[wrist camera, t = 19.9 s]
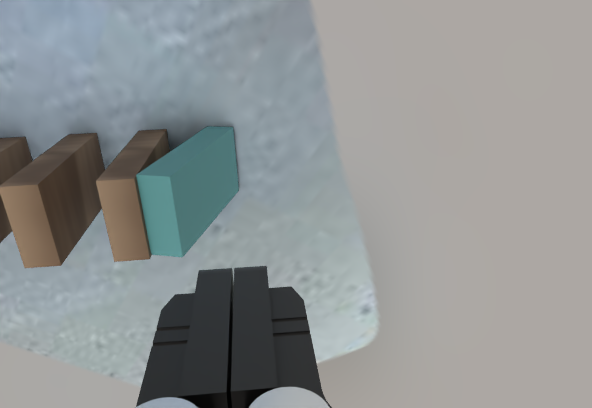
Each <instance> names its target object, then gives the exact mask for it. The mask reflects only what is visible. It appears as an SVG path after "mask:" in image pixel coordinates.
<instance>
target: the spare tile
mask: <svg viewBox="0 0 592 408" xmlns="http://www.w3.org/2000/svg"><path fill="white" fill-rule="evenodd" d="M136 178H137V183H138V188H139V193H140V198H141V204H142V209H143V214H144V219H145V225H146V230H147V235H148V240H149V245H150V251H151V254H152V255H163V256H174V257H183V256H184V255H185V254H186V253H187V252H188V250H189V249H190V248H191V247H192V246H193V244H194V243H195V242H196V241H197V240H198V238H199V237H200V236H201V235H202V234H203V232H204V231H205V230H206V229H207V228H208V227H209V225H210V224H211V223H212V222H213V221H214V219H215V218H216V217H217V216H218V215H219V213H220V212H221V211H222V210H223V209H224V208H225V206H226V205H227V204H228V203H229V202H230V200H231V199H232V198H233V197H234V196H235V194H236V193H237V192H238V191H239V186H238V175H237V164H236V153H235V142H234V131H233V127H212V126H207V127H206V128H204V129H203V130H201V131H200V132H198V133H197V134H195V135H194V136H192V137H191V138H190V139H188V140H187V141H185V142H184V143H182V144H181V145H179V146H178V147H176V148H175V149H173V150H172V151H170V152H169V153H167V154H166V155H165V156H163V157H162V158H160V159H159V160H157V161H156V162H154V163H153V164H151V165H150V166H148V167H147V168H145V169H144V170H142V171H141V172H140V173H138V174H137V175H136Z"/></svg>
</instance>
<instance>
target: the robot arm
mask: <svg viewBox="0 0 592 408" xmlns="http://www.w3.org/2000/svg"><path fill="white" fill-rule="evenodd" d="M136 408H332V407H331V406H330V405H329V404H328V402H327V401H326V399H325V397H324V395H323V392H322V389H321V384H320V379H319V374H318V369H317V364H316V359H315V354H314V349H313V344H312V339H311V334H310V330H309V325H308V320H307V315H306V310H305V305H304V300H303V299H302V298H301V297H300V296H299V295H298V293H297V292H296V291H295V290H294V289H293V288H292V287H279V288H269V287H268V276H267V266H259V267H243V268H235V269H234V282H233V271H232V268H228V269H212V270H199V273H198V278H197V284H196V291H195V293H192V294H177V295H174V296H173V298H172V299H171V300H170V301H169V302H168V303H167V304H166V306H165V307H164V308H163V309H162V310H161V314H160V317H159V321H158V325H157V331H156V333H155V337H154V340H153V347H152V348H151V352H150V356H149V359H148V363H147V367H146V371H145V375H144V379H143V382H142V386H141V390H140V394H139V398H138V402H137V406H136Z"/></svg>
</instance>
